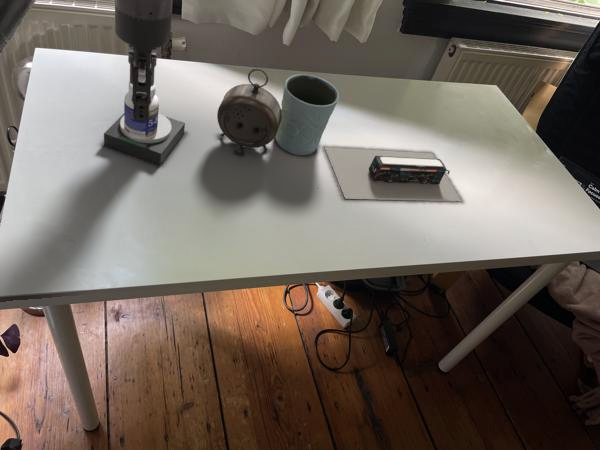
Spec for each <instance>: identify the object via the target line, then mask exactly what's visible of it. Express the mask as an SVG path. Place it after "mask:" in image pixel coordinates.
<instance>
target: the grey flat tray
mask: <svg viewBox="0 0 600 450" xmlns="http://www.w3.org/2000/svg"><path fill="white" fill-rule="evenodd" d="M324 149H325V152H326V154H327V157H328V160H329V162H330V164H331V167H332V169H333V172H334V175H335V177H336V179H337V181H338V185H339V187H340V189H341V192H342V195H343V197H344V199H345V200H379V201H380V200H385V201H386V200H388V201H390V200H391V201H432V202H433V201H434V202H435V201H436V202H438V201H439V202H462V200H461V197H459V194H458V193H457V192H456V190H455V189H454V187H453V185H452V183H451V181H450V180H449V179H448V177H447V175H449V174H450V171H451V170H448V169H447V167H446V165H445V164H444V162H443V161H442V159H440V158H436V157H435V155H434V154H433V153H431V152H415V151H413V152H412V151H398V150H397V151H396V150H379V149H378V150H377V149H362V148H361V149H360V148H344V147H329V146H328V147H326V146H325V147H324ZM446 172H447V175H446Z"/></svg>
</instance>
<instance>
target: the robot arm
mask: <svg viewBox="0 0 600 450" xmlns="http://www.w3.org/2000/svg"><path fill="white" fill-rule="evenodd" d="M36 1H37V0H0V56H1V55H2V54H3V52H4V51H5V50H6V48H7V46H8V42H11V41H12V40H13V38H14V36H15V35H16V33H17V31H18V30H19V28H20V27H21V25H22V23H23V22H24V20H25V19H26V17H27V16H28V13H30V10H31V9H32V8H33V6H34V4H35V2H36ZM173 1H174V0H114V29H115V30H114V31H115V34H116V36H117V37H118V39H120V40H121V41H122V42H123V43H125V44H128V55H127V56H128V57H127V61H128V64H129V81H130V83H131V84H132V85H133V95H132V101H133V104H134V120H135V121H143V122H147V121H148V119H149V106H150V103H151V97H150V92H151V86H153V85H154V83H155V68H156V67H157V58H158V55H157V51H158V50H157V49H159V48H162V47H164V46H166V45H167V44H168V43H169V42H170V40H171V31H172V17H173ZM138 78H139V79H138ZM145 78H146V80H145ZM136 92H145V93H147V94H143V93H136Z"/></svg>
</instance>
